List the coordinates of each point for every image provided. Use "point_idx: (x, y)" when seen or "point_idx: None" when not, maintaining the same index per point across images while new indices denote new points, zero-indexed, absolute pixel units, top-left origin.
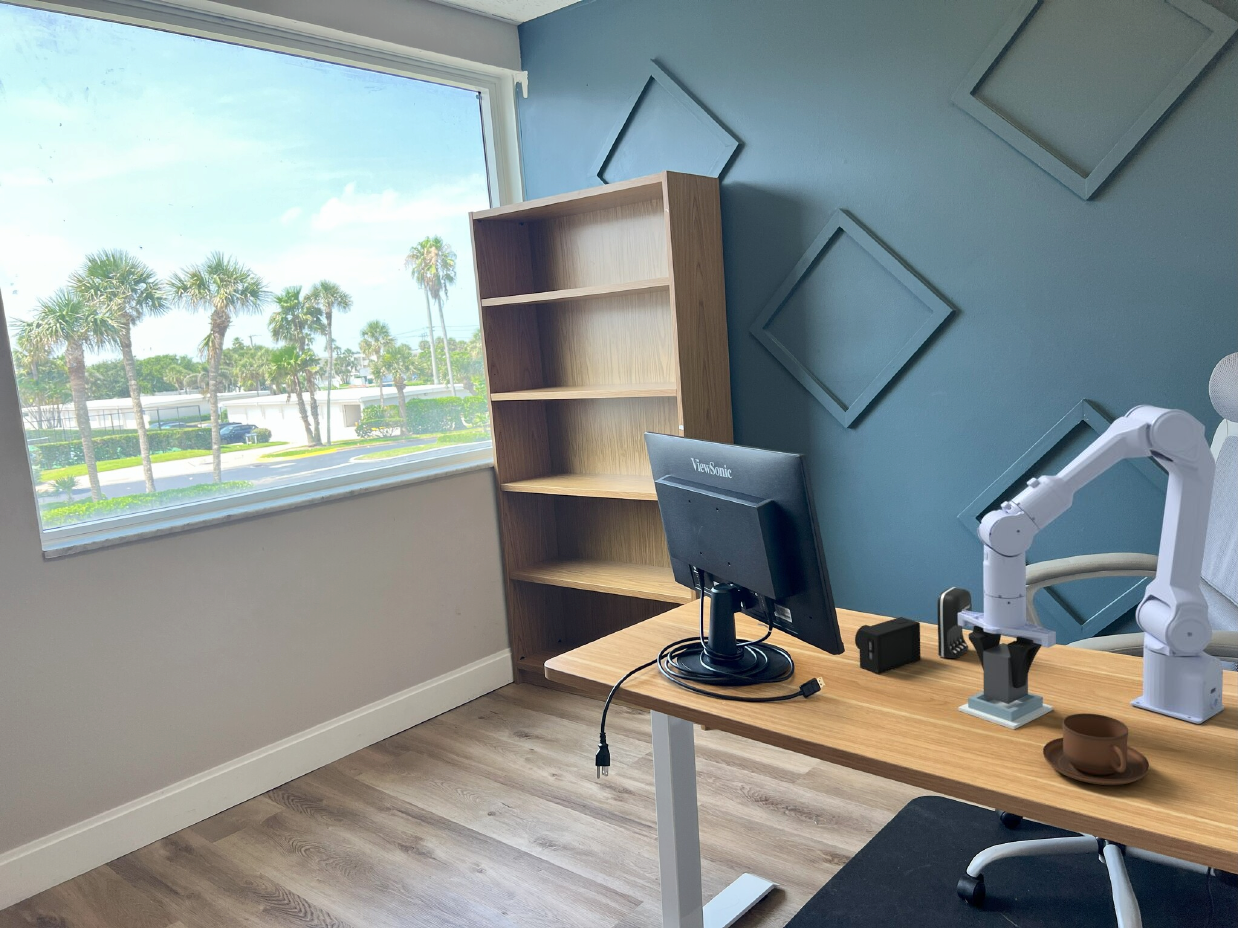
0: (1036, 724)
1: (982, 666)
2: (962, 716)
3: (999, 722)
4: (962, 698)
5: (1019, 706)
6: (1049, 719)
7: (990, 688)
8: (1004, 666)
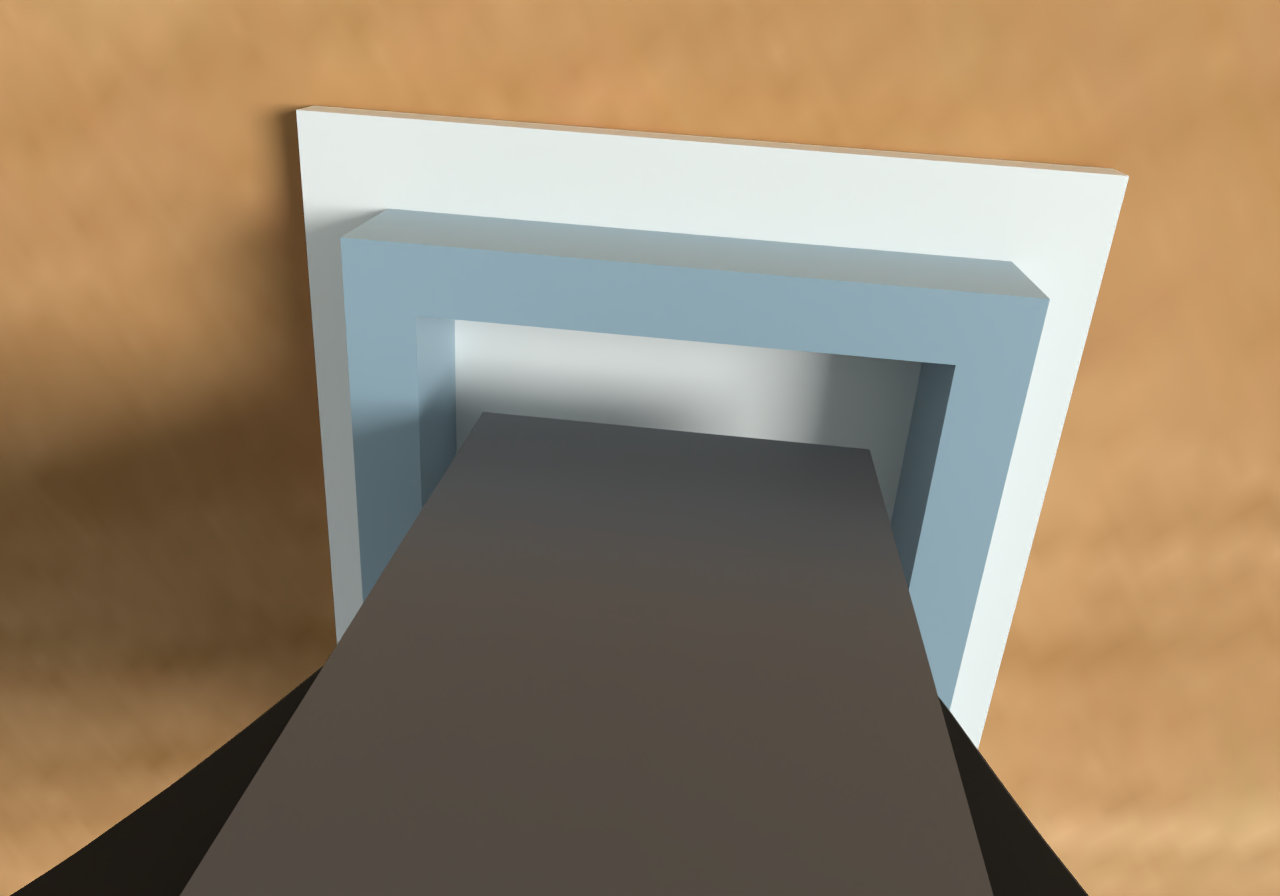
0: (251, 397)
1: (1034, 837)
2: (987, 26)
3: (499, 123)
4: (1206, 527)
5: (378, 460)
6: (250, 577)
7: (761, 509)
8: (337, 808)
